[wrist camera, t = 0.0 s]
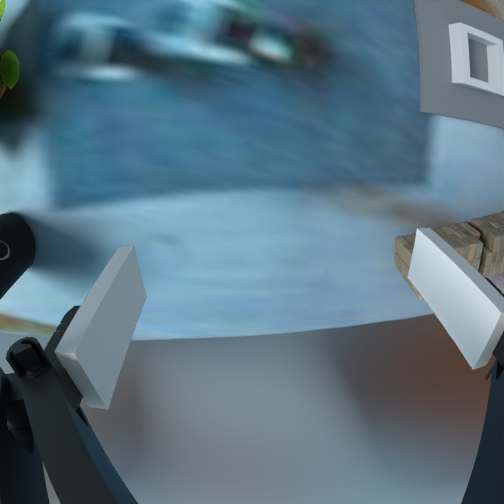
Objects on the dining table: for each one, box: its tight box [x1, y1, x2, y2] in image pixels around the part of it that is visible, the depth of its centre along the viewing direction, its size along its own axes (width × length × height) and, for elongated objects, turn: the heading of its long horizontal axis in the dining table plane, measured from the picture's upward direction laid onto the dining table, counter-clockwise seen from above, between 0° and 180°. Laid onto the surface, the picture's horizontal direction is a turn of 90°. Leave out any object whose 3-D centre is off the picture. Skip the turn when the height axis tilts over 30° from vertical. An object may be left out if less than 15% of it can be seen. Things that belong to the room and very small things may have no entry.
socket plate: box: [414, 0, 504, 128], centre depth 29 cm, size 20×20×4 cm
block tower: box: [395, 211, 504, 300], centre depth 43 cm, size 8×8×29 cm
